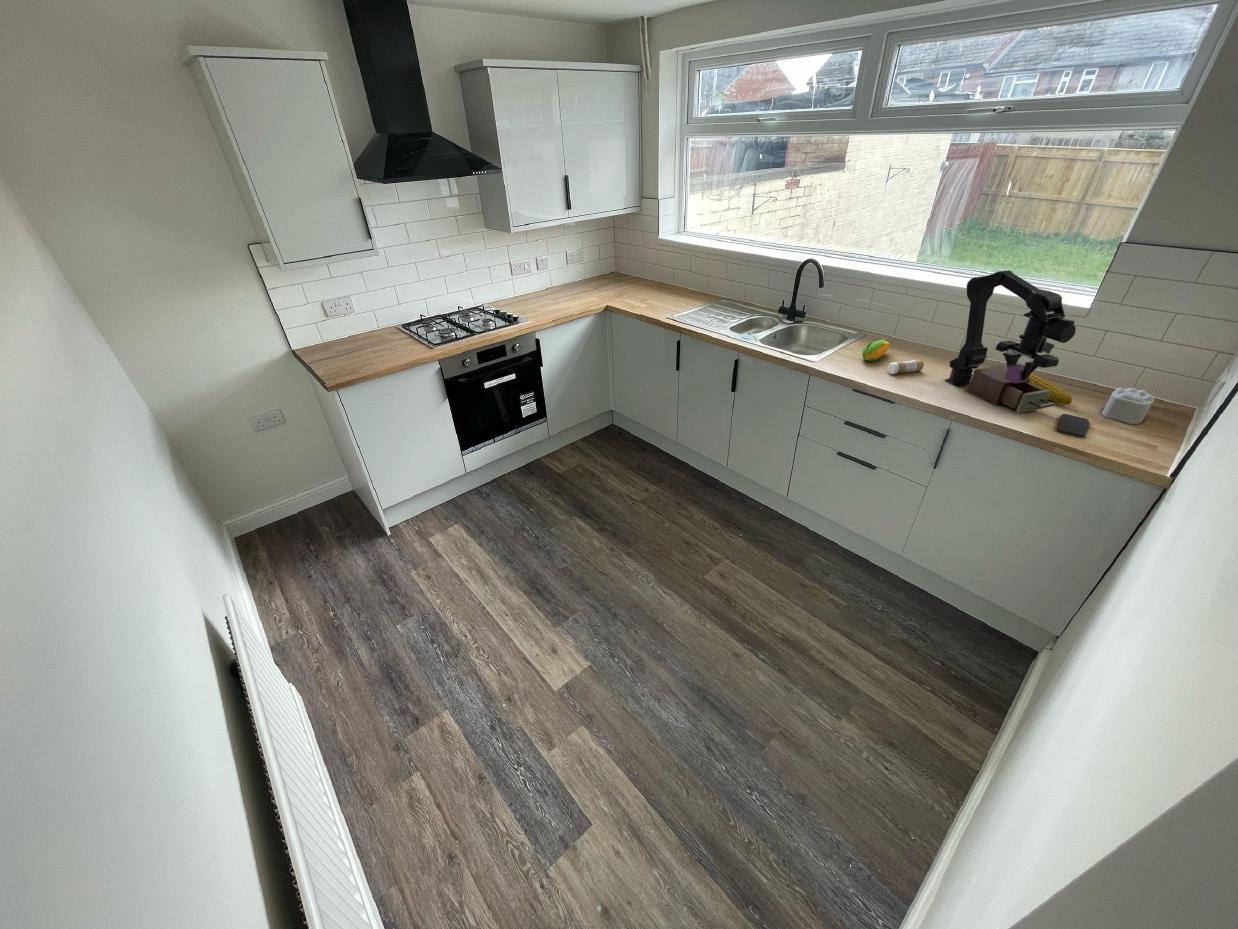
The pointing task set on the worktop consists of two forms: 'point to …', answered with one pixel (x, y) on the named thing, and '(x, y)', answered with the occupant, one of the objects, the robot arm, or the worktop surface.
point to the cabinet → (989, 383)
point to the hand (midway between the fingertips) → (1016, 377)
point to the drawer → (1025, 397)
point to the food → (1051, 390)
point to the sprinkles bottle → (905, 366)
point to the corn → (875, 350)
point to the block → (1015, 373)
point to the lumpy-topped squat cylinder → (1128, 405)
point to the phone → (1073, 425)
